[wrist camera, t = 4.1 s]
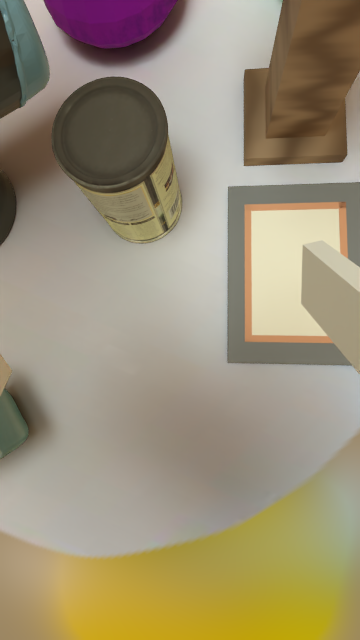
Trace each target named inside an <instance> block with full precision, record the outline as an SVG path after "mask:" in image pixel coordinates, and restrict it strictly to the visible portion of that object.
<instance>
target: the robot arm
mask: <svg viewBox="0 0 360 640" xmlns="http://www.w3.org/2000/svg"><path fill="white" fill-rule="evenodd" d="M49 76H50V70H49V64H48V60H47V56H46V53H45V50H44V48H43V45H42V42H41V40H40V37H39V35H38V32H37V30H36V27H35V25H34V22H33V20H32V18H31V15H30V13H29V11H28V9H27V7H26V4H25V2H24V0H0V118H2V117H4V116H6V115H7V114H9V113H11V112H12V111H14V110H16V109H18V108H21V107H22V106H24V105H25V104H26V101H28V100H29V99H30V98H32V97H33V96H34V95H36V94H37V93H38V92H40V91H41V90H42V89H44V88H45V86H46V85H47V83H48V81H49ZM15 210H16V200H15V193H14V190H13V187H12V185H11V182H10V181H9V179H8V177H7V176H6V175H5V174H4V172H3V171H2V170H0V244H1V243H2V242H3V241H4V239H5V238H6V236H7V235H8V233H9V231H10V229H11V226H12V224H13V221H14V217H15ZM301 304H302V305H303V307H304V308H305V309H306V310H307V311H308V313H309V314H310V315H311V316H312V317H313V319H314V320H315V321H316V322H317V323H318V325H319V326H320V327H321V328H322V330H323V331H324V332H325V333H326V334H327V336H328V337H329V338H330V339H331V340H332V342H333V343H334V344H335V345H336V346H337V348H338V349H339V350H340V351H341V352H342V354H343V355H344V356H345V357H346V358H347V360H348V361H349V362H350V363H351V364H352V366H353V367H354V368H355V369H356V370H357V372H358V373H359V374H360V267H359V266H357V265H356V264H354V263H353V262H352V261H350V260H349V259H348V258H346V257H345V256H343V255H342V254H341V253H339V252H338V251H336V250H335V249H334V248H332V247H331V246H330V245H328V244H327V243H325V242H324V241H323V240H321V241H316V242H312V243H308V244H304V245H303V250H302V287H301ZM11 373H12V370H11V368H10V367H9V366H8V364H7V363H6V361H5V360H4V359H3V357H2V356H1V355H0V396H1V394H2V392H3V389H4V387H5V385H6V383H7V381H8V379H9V377H10V375H11Z"/></svg>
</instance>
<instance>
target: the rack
mask: <svg viewBox="0 0 360 640" xmlns="http://www.w3.org/2000/svg"><path fill="white" fill-rule="evenodd" d="M359 71H360V0H283V3H282V8H281V13H280V18H279V23H278V27H277V32H276V37H275V42H274V47H273V51H272V56H271V61H270V66H269V68H261V69H246V70H245V73H244V166H254V165H280V164H305V163H331V162H342V161H343V160H344V158H345V157H346V155H347V137H346V110H345V97H346V95H347V93H348V91H349V90H350V88H351V86H352V84H353V82H354V80H355V78H356V76H357V74H358V73H359Z"/></svg>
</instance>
